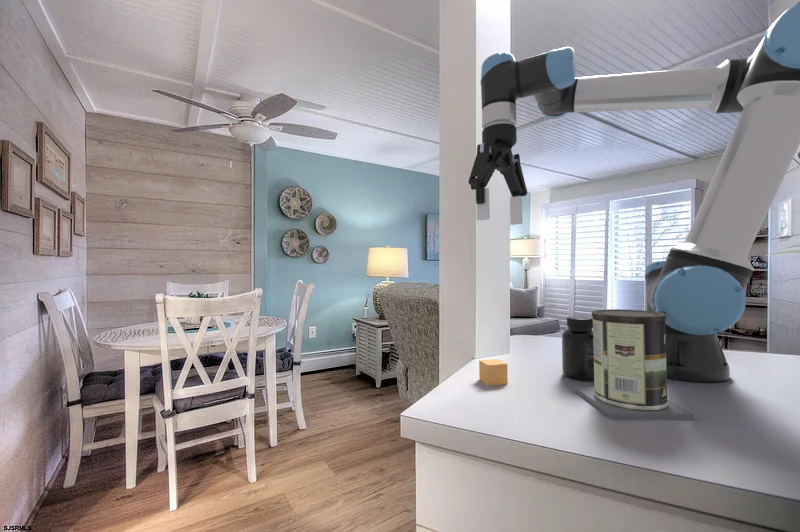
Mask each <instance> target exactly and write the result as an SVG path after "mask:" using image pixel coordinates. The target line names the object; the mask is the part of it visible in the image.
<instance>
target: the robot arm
mask: <svg viewBox="0 0 800 532" xmlns="http://www.w3.org/2000/svg"><path fill="white" fill-rule="evenodd" d="M576 68H577V67H576V55H575V50H574V48H573V47H570V46H565V47H561V48H558V49H556V48H555V49H552V50H549V51H546V52H543V53H540V54H537V55H533V56H530V57H526V58H523V59H520V60H516V59H515V57H514V55H513V54H512V53H509V52H503V53H500V52H497V53H494V54H491V55H490V56H488V57H487V58H485V59H484V60H483V63H482V64H481V70H480V71H481V73H480V93H481V96H480V97H481V128H482V131H481V143H480V144H477V147H476V156H475V159H474V161H473V166H472V169H471V172H470V175H469V179H468V185H470V189H471V191H474V190H475V203H476V221H484V220H490V218H491V217H490V188H488V187H487V186H488V184H489V182H490V180H491V178H492V176H493V174H494V173H495V171H498V172H499V173H500V174H501V175H502V176H503V178H504V180H505V183H506V185H507V188H508V190H509V193H510V194H511V197H509V212H510V215H509V216H510V217H509V218H510V219H509V220H510V225H512V226H515V225H522V224H523V197H526V196H527V195H528V188H527V185H526V182H525V178H524V173H523V169H522V166H521V165H522V164H521V156H520V154H519V153H516V154H513V151H512V148H513V147H514V146H515V145H516V144H517V142H518V140H517V139H518V137H517V134H518V133H517V127H516V126H517V100H518V99H523V98H527V97H532V96H534V99H535V100H536V103H537V107H538V109H539V110H540V112H541V113H542V114H543V115H544V116H545V118H548V119H553V120H555V119H559V118H562V117H563V116H565V115H567V114H568V113H595V112H596V113H597V112H624V111H625V112H626V111H654V110H656V111H659V110H660V111H661V110H686V109H687V110H688V109H689V110H690V109H707V110H709V112H711V113H712V114H728V113H729V114H731V113H733V114H734V113H736V114H737V113H740V116H739V118H738V120H737V122H736V124H735V127H734V129H733V131H732V134H731V136H730V138H729V141H728V143H727V145H726V148H725V150H724V152H723V155H722V157H721V159H720V161H719V163H718V164H717V168H716V171H715V173H714V175H713V176H712V179H711V181H710V183H709V186H708V188H707V191H706V193H705V195H704V197H703V199H702V202H701V204H700V206H699V209H698V211H697V214H696V216H695V217H694V220H693V222H692V225H691V226H690V229H689V231H688V234H687V236H686V239H685V241H683V242H682V243H680V244H677V245H675V246H673V247H671V248H670V250H669V253H668V254H667V257H666V259H664V260H657V261H652V262H650V263H648V265H647V266H646V269H645V274H644V280H645V287H646V289H645V290H646V292H645V293H646V296H645V297H646V311H653V312H660V313H664V314H666V320H665V329H666V373H667V379H672V380H673V379H674V380H680V381H687V382H695V383H696V382H700V383H719V382H720V383H721V382H725V381H728V380H729V379H730V378H731V377H730V376H731V375H730V374H731V373H730V369H731V368H730V365H729V363H728V362H727V358H726V356H725V353H724V351H723V349H722V345H721V344H720V341H719V340H718V333H721V332H724V331H726V330H728V329H729V328H731V327H733V326H734V325H735V324H736V323H738V321H739V320H740V319H741V318H742V315H743V314H744V312H745V309H746V301H747V300H746V293H745V289H746V287H747V285H748V283H749V281H750V279H751V276H752V274H753V272H754V270H755V268H754V267H753V265H752V264H751V262H750V260H749V259H748V255H749V253H750V250H751V248H752V246H753V244H754V242H755V240H756V238H757V236H758V233H759V231H760V229H761V228H762V225H763V223H764V221H765V218H766V216H767V214H768V212H769V210H770V208H771V206H772V204H773V202H774V200H775V198H776V195H777V193H778V191H779V189H780V187H781V185H782V183H783V181H784V178H785V176H786V174H787V172H788V170H789V168H790V166H791V164H792V161H793V159H794V157H795V155H796V153H797V151H798V148H799V147H800V1H799V2H797V3H795V4H794V5H792V6H790V7H789V8H788V9H786V10H785V11H784V12H783V13H782V14H780V16H778V17H777V19H776V20H775V21H774V22H772V23H771V25H770V26H769V28H768V29H767V30H766V31H765V34H764V36H763V37H762V40H761V41H760V42H759V43H758V46H757V47H756V48H755V50H754V52H753V53H752V55H750V56H746V57H742V58H741V57H740V58H735V59H734V58H733V59H732V58H731V59H726V60H724V62H722V63H721V64H719V65H718V66H717V65H716V66H707V67H706V66H705V67H696V68H681V69H679V68H678V69H671V70H669V69H668V70H659V71H658V70H657V71H656V70H655V71H646V72H645V71H644V72H643V71H642V72H632V73H622V74H621V73H620V74H608V75H605V74H604V75H594V76H593V75H592V76H581V77H576V76H577V72H576V71H577V70H576ZM510 225H509V226H510Z"/></svg>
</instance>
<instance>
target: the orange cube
mask: <svg viewBox="0 0 800 532" xmlns="http://www.w3.org/2000/svg"><path fill="white" fill-rule="evenodd" d="M478 363H479V364H478V365H479V367H478V368H479V373H478V374H479V377H478V378H479V381H481V380H482V381H483V382H482V381H481V382H482V383H484V384H485V385H486V386H488V387H492V386H500V385H501V386H502V385H508V382H509V381H508V363H507V362H505V361H504V360H503V361H502V360H501V359H499V358H491V359H479V360H478Z"/></svg>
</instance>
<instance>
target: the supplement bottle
mask: <svg viewBox="0 0 800 532" xmlns="http://www.w3.org/2000/svg"><path fill="white" fill-rule="evenodd" d="M566 327H567V329H565V330H564V331H563V332H562V334H561V357H562V358H561V359H562V363H561V364H562V365H561V367H562V374H563V376H564V377H566V378H567V379H569V380H574V381H579V382H594V345H593V317H588V316H580V315H579V316H567V317H566Z"/></svg>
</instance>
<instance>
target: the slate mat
mask: <svg viewBox="0 0 800 532" xmlns="http://www.w3.org/2000/svg"><path fill="white" fill-rule="evenodd" d="M574 389H575V392H576V393H577V394H578V395H579V396H580V397H582V398H583V399H584V400H586V401H587V402H588V403H590V404H591V405H592V406H593V407H595V408H596V409H597V408H598V409H597V410H599V411H600V412H601V411H602V412H601V413H603V414H604V415H605V414H606V415H605V416H606V417H608V418H609V419H610V418H611V419H610V420H696V413H694V412H693V411H691V410H689V409H687V408H685V407H683V406H681V405H679V404H678V403H676V402H673V401H671V400H670V399H668V398H667V402H668V406H667V407H666V408H664V409H661V410H647V411H645V410H634V409H627V408H622V407H618V406H614V405H610V404H608V403H605V402H603V401H601V400H599V399H598V398H596V396H595V395H594V392H595V386H575V388H574Z"/></svg>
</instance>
